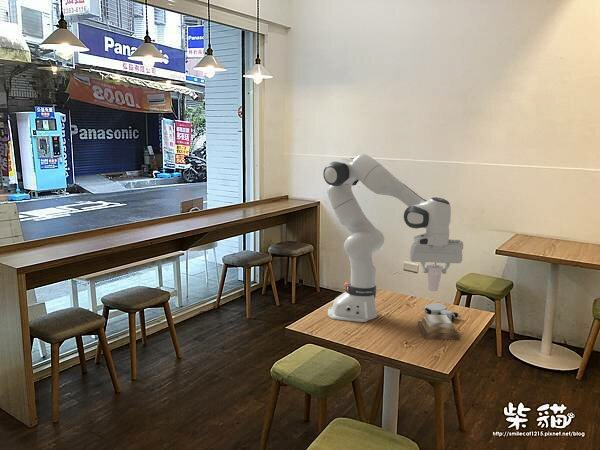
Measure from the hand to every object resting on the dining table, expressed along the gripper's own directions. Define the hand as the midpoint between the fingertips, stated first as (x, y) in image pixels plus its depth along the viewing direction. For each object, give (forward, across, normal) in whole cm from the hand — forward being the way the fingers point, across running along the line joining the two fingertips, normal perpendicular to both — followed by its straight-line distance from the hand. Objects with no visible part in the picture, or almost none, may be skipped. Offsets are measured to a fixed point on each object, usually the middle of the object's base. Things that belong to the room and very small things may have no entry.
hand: (434, 272), depth 198 cm
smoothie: (+7, 0, 0) cm, 7 cm away
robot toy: (+28, -10, -23) cm, 37 cm away
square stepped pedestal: (+27, -4, -5) cm, 28 cm away
